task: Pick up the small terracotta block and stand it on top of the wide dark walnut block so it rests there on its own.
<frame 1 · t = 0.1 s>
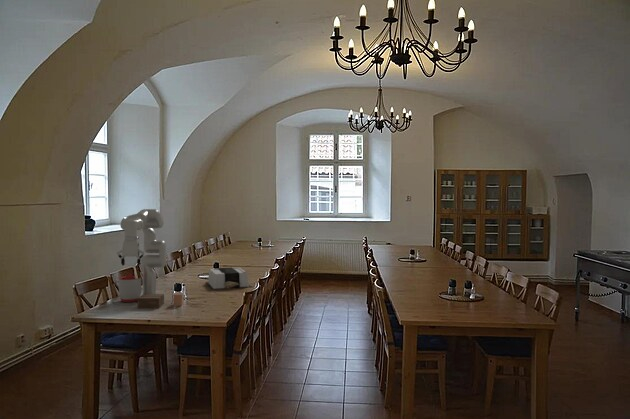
hand: (130, 265, 324), 31 cm above the table, tool pointing down, fingers open, 9 cm apart
grey black bridge block: (227, 285, 423), on the table
walnut block: (151, 306, 345), on the table
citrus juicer: (131, 300, 360), on the table
terracotta block: (178, 305, 348), on the table
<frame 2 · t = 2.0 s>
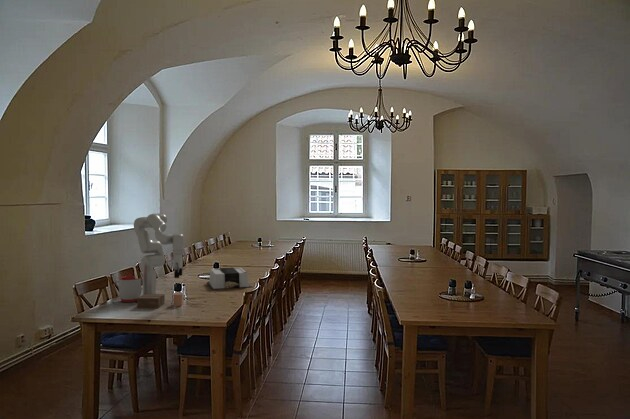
hand: (178, 276, 347), 20 cm above the table, tool pointing down, fingers open, 9 cm apart
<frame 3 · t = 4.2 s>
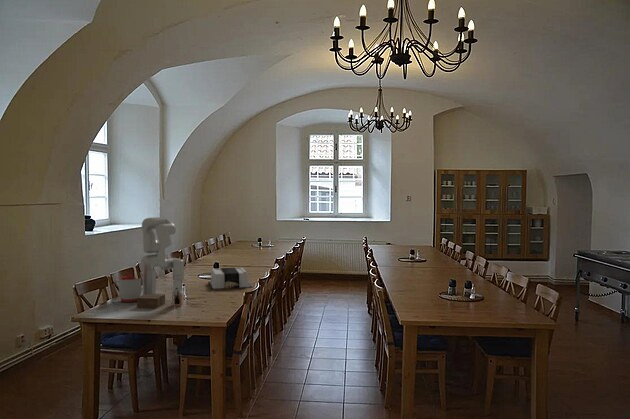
hand: (178, 302, 348), 2 cm above the table, tool pointing down, fingers closed on terracotta block, 6 cm apart
terracotta block: (178, 305, 348), on the table, touching gripper
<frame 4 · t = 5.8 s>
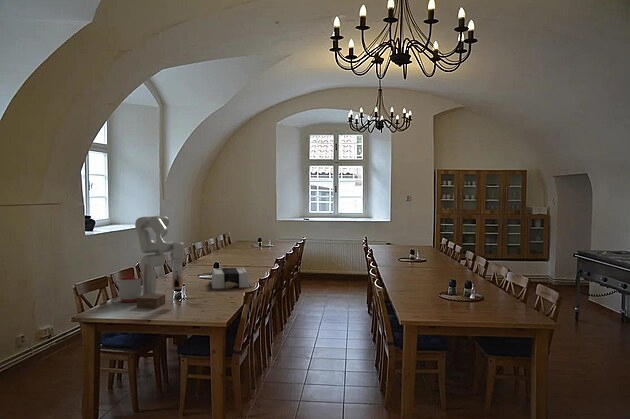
hand: (177, 285, 348), 14 cm above the table, tool pointing down, fingers closed on terracotta block, 6 cm apart
terracotta block: (177, 287, 348), point 12 cm above the table, touching gripper
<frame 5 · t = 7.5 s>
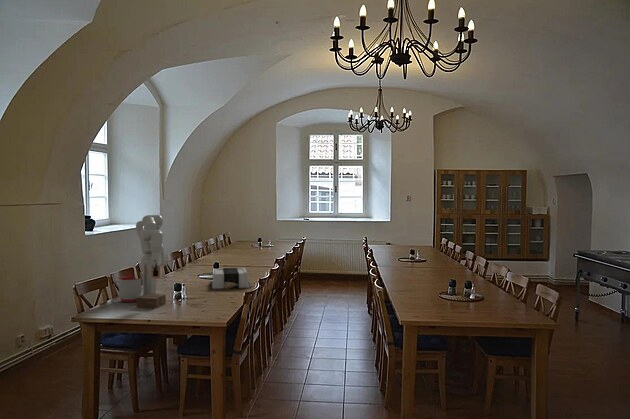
hand: (156, 275, 345), 21 cm above the table, tool pointing down, fingers closed on terracotta block, 6 cm apart
terracotta block: (156, 277, 345), point 20 cm above the table, touching gripper
when the fingers open (10 cm above the table, at t = 9.9 s): terracotta block drops 2 cm, resting on walnut block.
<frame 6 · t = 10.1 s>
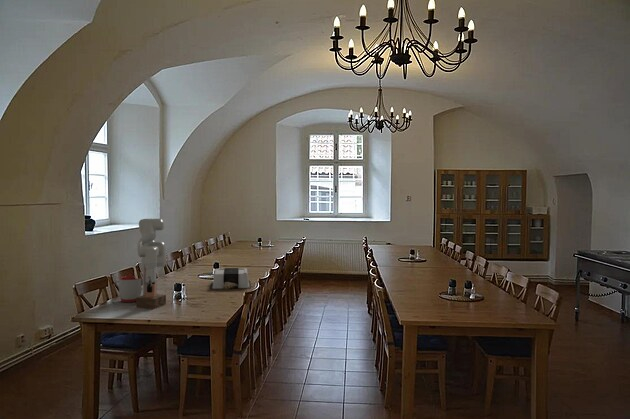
hand: (151, 290, 345), 10 cm above the table, tool pointing down, fingers open, 8 cm apart
walnut block: (151, 306, 345), on the table, touching terracotta block
terracotta block: (151, 296, 345), point 7 cm above the table, touching walnut block
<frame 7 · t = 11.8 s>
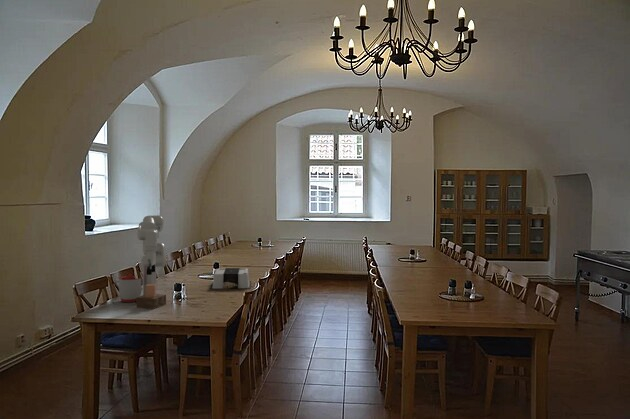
hand: (151, 273, 344), 22 cm above the table, tool pointing down, fingers open, 9 cm apart
walnut block: (151, 306, 345), on the table
terracotta block: (151, 296, 345), point 7 cm above the table
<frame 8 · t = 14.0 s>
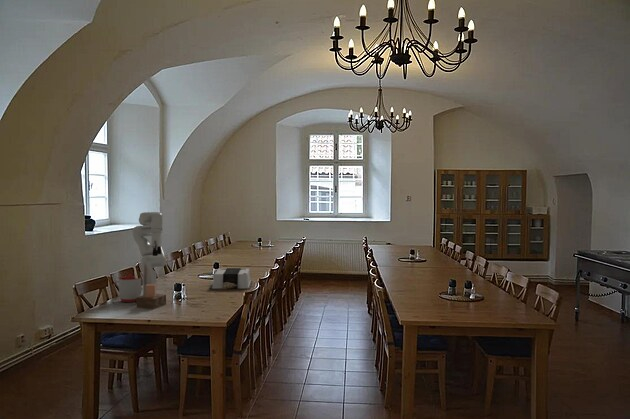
hand: (156, 254, 352), 34 cm above the table, tool pointing down, fingers open, 9 cm apart
walnut block: (151, 306, 345), on the table, touching terracotta block
terracotta block: (151, 296, 345), point 7 cm above the table, touching walnut block
at the end: terracotta block inside the target area on the walnut block (0.3 cm from its centre), point 7.0 cm above the walnut block's base; terracotta block tilted 0°; terracotta block touching walnut block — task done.
